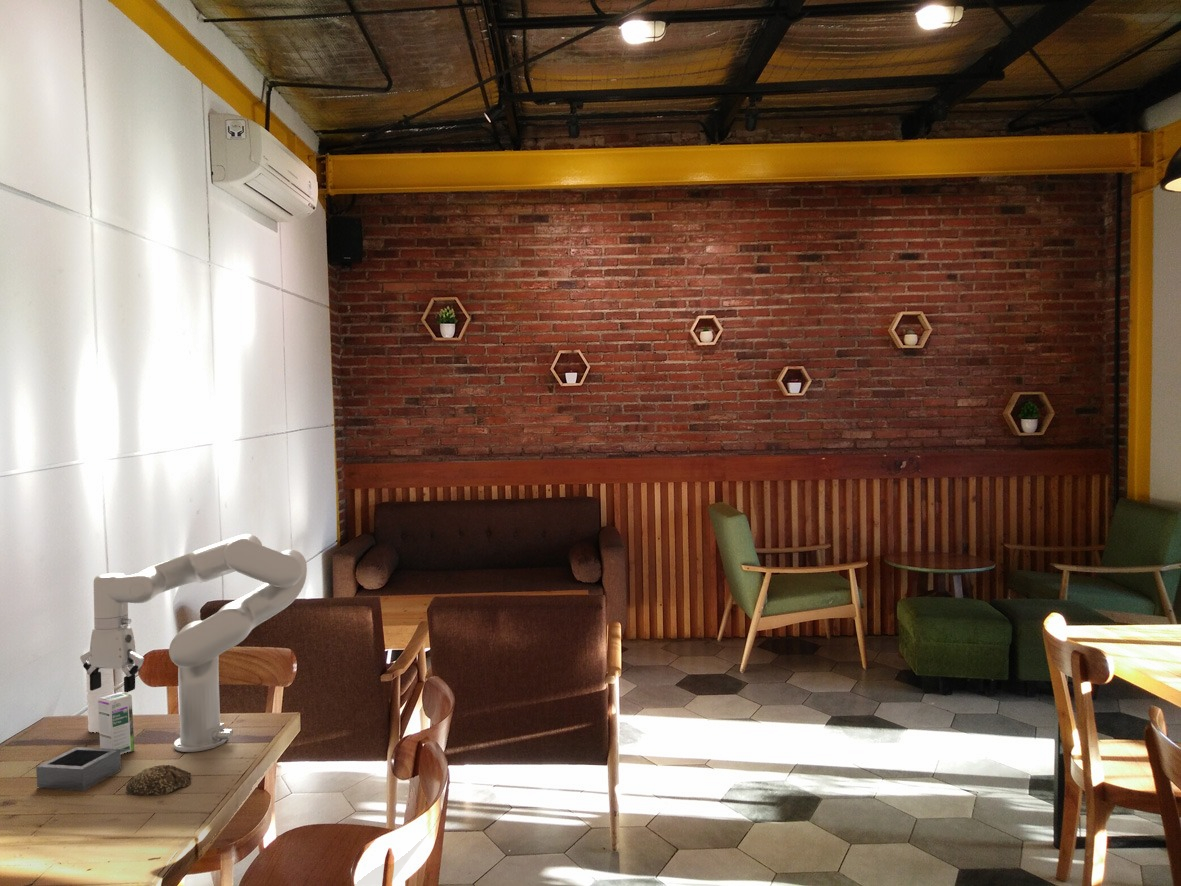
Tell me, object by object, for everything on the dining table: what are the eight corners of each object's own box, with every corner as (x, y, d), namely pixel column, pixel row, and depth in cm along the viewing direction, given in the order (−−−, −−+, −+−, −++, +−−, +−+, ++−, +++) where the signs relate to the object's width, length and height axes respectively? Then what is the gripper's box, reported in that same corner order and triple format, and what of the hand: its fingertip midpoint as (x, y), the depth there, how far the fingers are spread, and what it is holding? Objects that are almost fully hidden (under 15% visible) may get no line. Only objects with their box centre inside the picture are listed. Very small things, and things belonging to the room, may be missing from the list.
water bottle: (89, 727, 239) (85, 637, 238) (116, 723, 242) (112, 634, 241) (87, 737, 231) (83, 644, 231) (114, 732, 234) (111, 641, 234)
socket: (120, 769, 209) (119, 749, 209) (83, 790, 197) (82, 769, 197) (76, 767, 211) (76, 747, 211) (37, 788, 199) (36, 766, 199)
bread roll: (117, 794, 196) (117, 772, 195) (162, 772, 207) (161, 752, 207) (161, 801, 191) (160, 779, 191) (204, 779, 203) (203, 758, 203)
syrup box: (112, 758, 216) (110, 700, 216) (99, 754, 219) (97, 697, 219) (134, 750, 221) (132, 694, 221) (121, 746, 224) (119, 690, 224)
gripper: (152, 620, 221) (153, 687, 222) (92, 618, 224) (93, 684, 225) (131, 627, 214) (132, 696, 214) (69, 624, 217) (71, 692, 217)
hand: (112, 689), depth 220 cm, fingers open, 9 cm apart
